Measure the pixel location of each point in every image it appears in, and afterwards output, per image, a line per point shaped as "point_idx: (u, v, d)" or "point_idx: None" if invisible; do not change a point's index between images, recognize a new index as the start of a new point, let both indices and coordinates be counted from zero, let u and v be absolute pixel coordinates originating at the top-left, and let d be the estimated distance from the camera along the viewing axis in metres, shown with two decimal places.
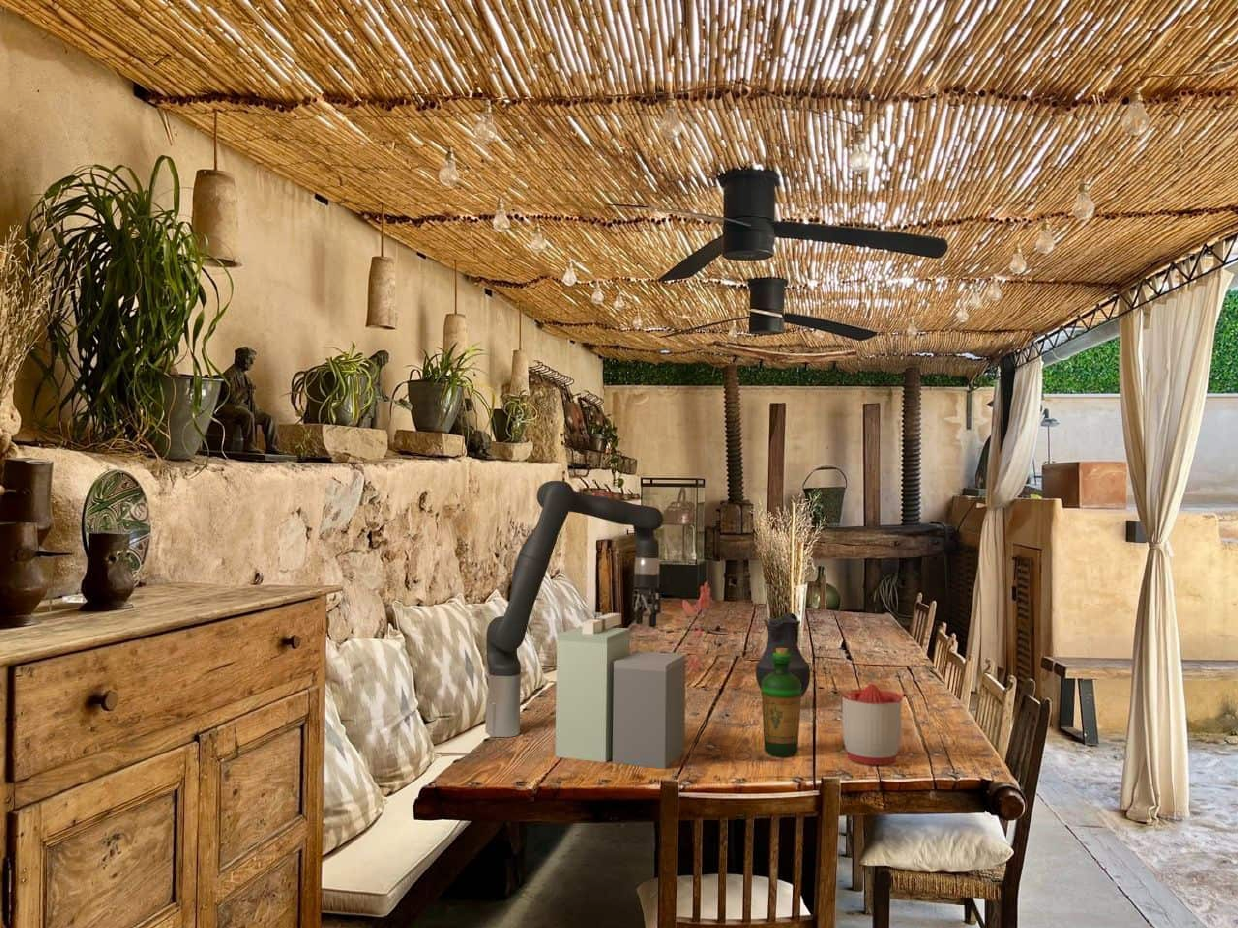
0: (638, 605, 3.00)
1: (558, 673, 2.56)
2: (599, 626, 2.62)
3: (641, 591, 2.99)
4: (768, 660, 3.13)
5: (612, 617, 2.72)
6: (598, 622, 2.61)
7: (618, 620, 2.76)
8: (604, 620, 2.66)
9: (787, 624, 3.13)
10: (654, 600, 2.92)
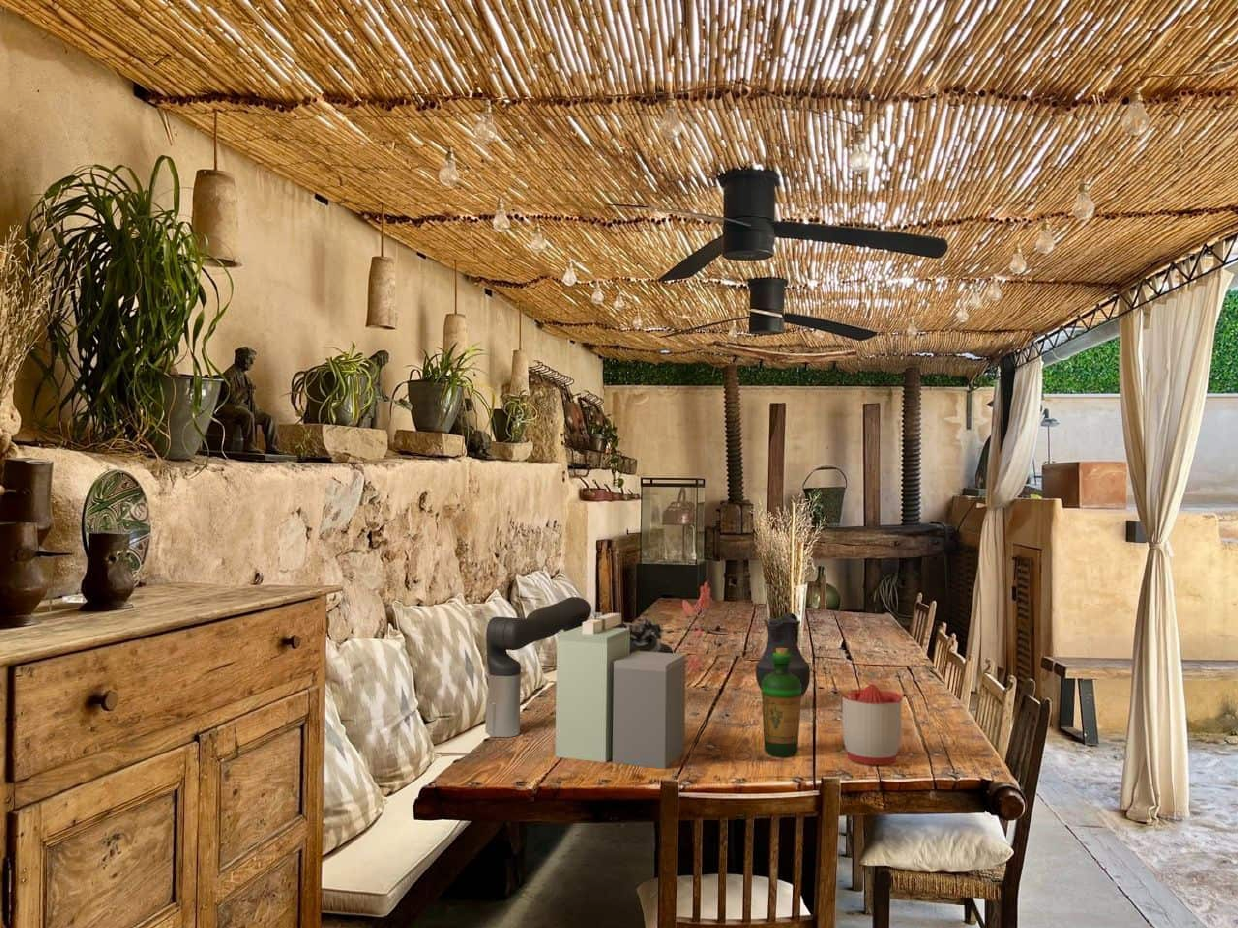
0: (628, 624, 2.97)
1: (558, 673, 2.56)
2: (599, 626, 2.62)
3: None
4: (768, 660, 3.13)
5: (612, 617, 2.72)
6: (598, 622, 2.61)
7: (618, 620, 2.76)
8: (604, 620, 2.66)
9: (787, 624, 3.13)
10: (661, 629, 2.96)
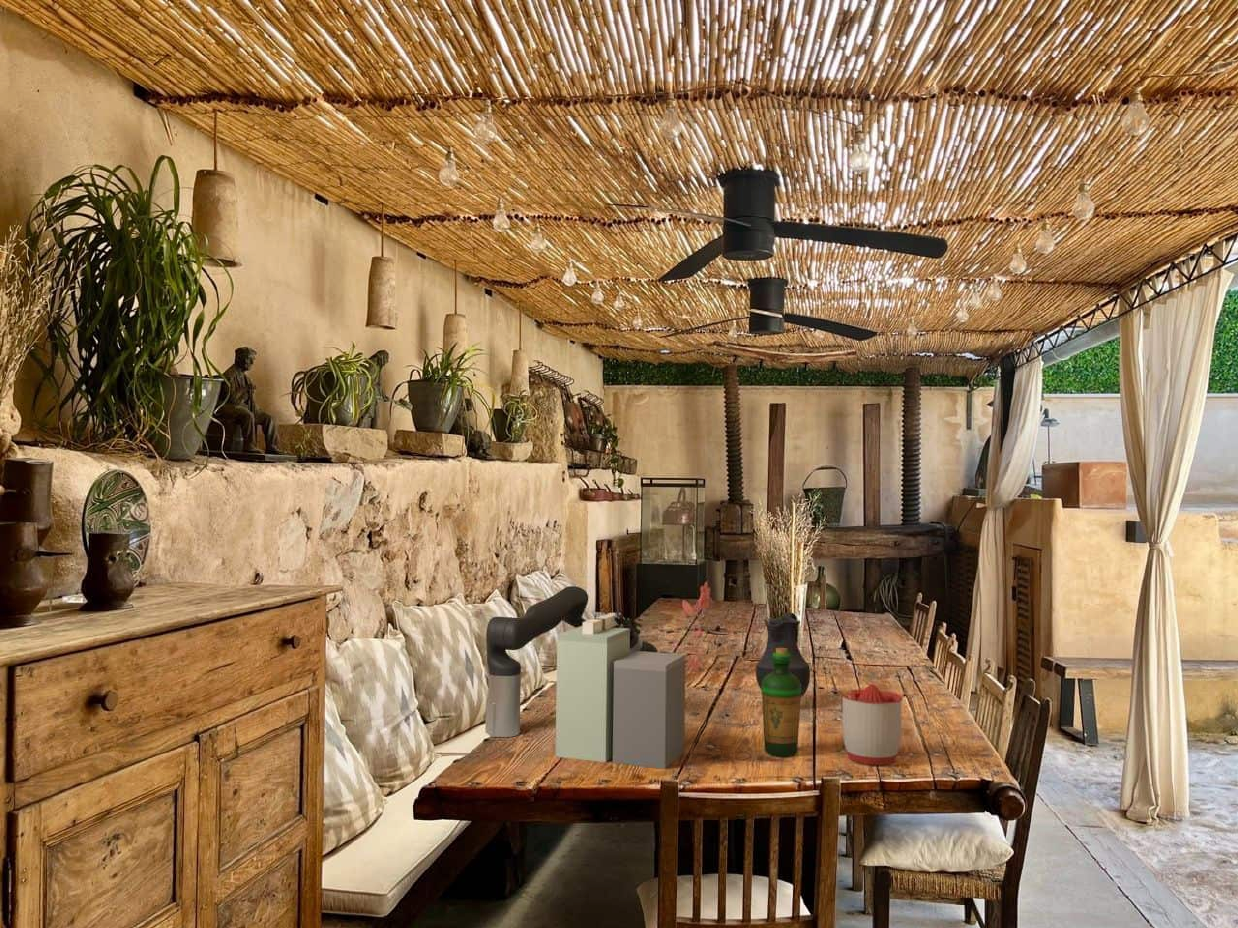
0: None
1: (558, 673, 2.56)
2: (599, 626, 2.62)
3: None
4: (768, 660, 3.13)
5: (612, 617, 2.72)
6: (598, 622, 2.61)
7: None
8: (604, 620, 2.66)
9: (787, 624, 3.13)
10: (637, 623, 2.79)
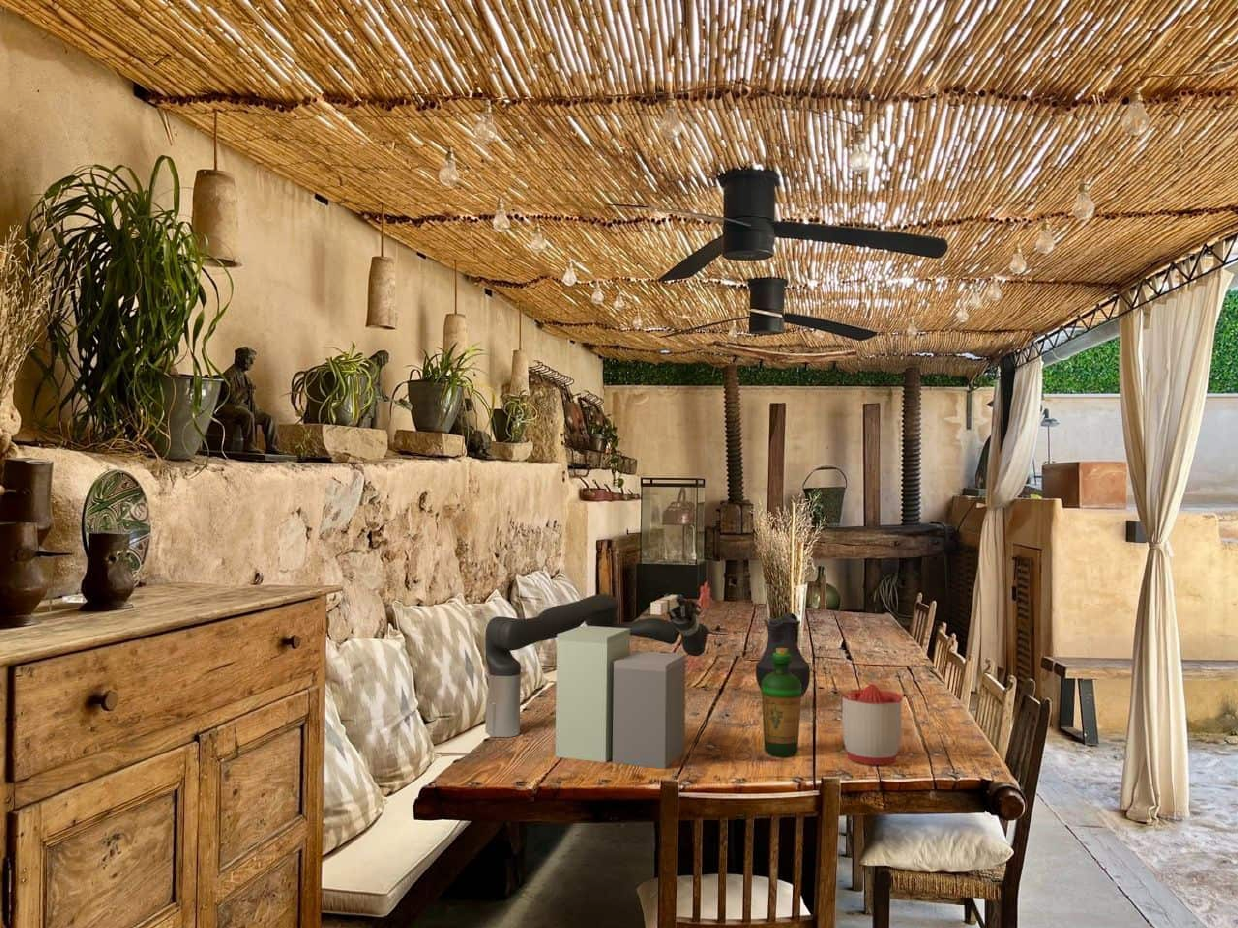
0: None
1: (558, 673, 2.56)
2: (665, 607, 2.73)
3: None
4: (768, 660, 3.13)
5: (675, 599, 2.83)
6: (664, 603, 2.73)
7: None
8: (669, 601, 2.77)
9: (787, 624, 3.13)
10: (697, 605, 2.90)
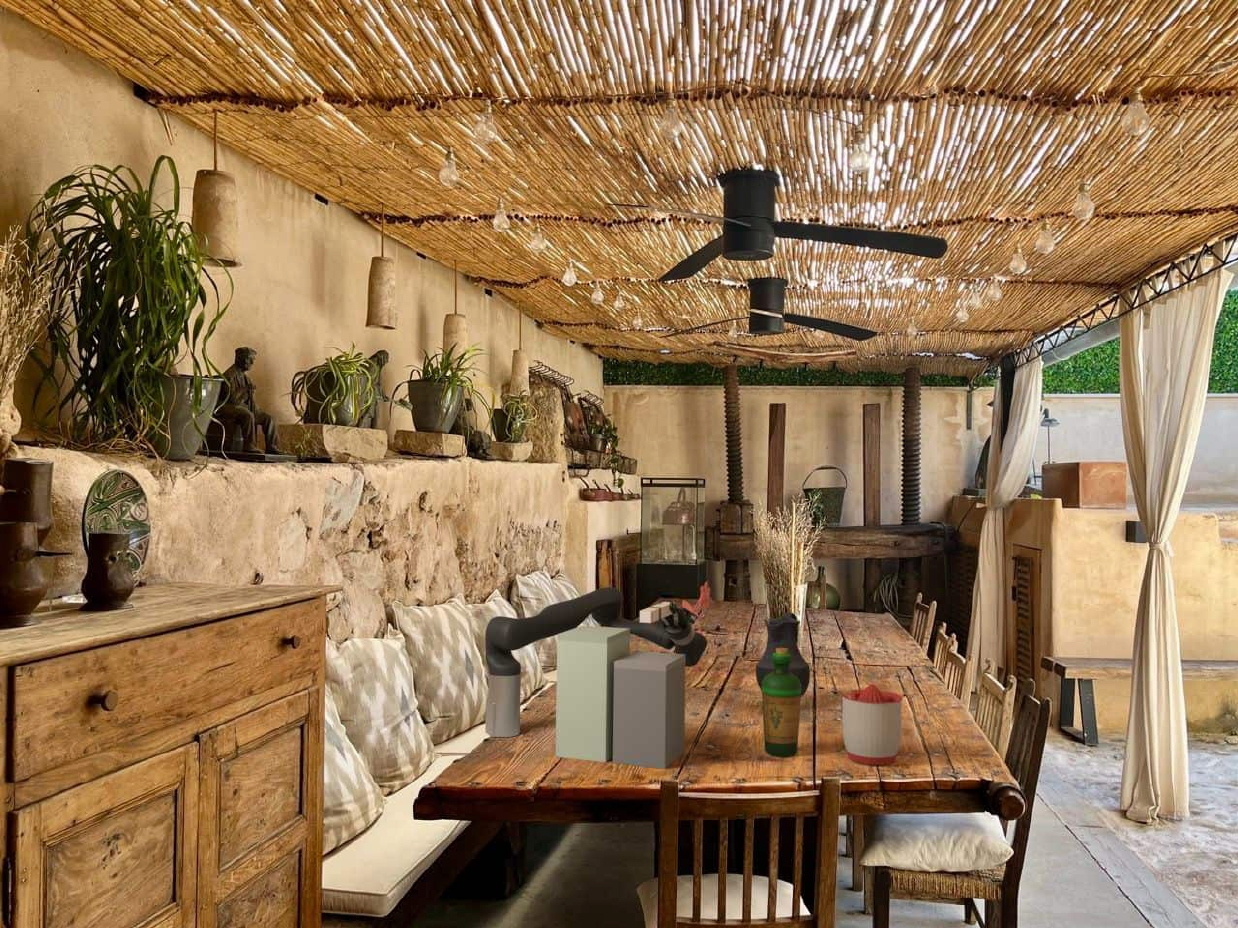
0: None
1: (558, 673, 2.56)
2: (656, 615, 2.56)
3: None
4: (768, 660, 3.13)
5: (667, 606, 2.66)
6: (655, 611, 2.56)
7: None
8: (660, 609, 2.60)
9: (787, 624, 3.13)
10: (691, 613, 2.73)
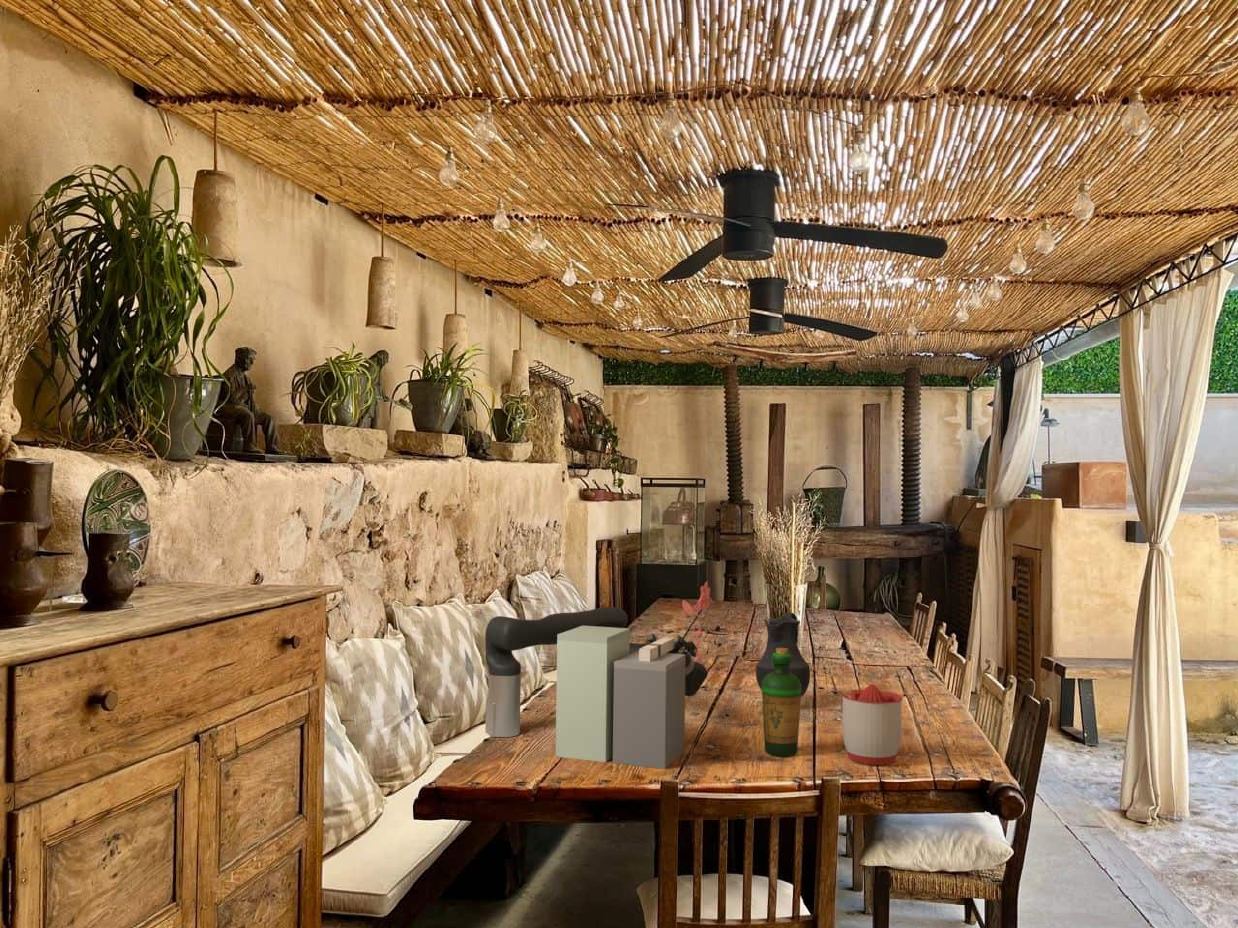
0: None
1: (558, 673, 2.56)
2: (655, 652, 2.56)
3: None
4: (768, 660, 3.13)
5: (667, 642, 2.66)
6: (654, 648, 2.56)
7: (672, 645, 2.70)
8: (660, 646, 2.60)
9: (787, 624, 3.13)
10: (695, 646, 2.74)
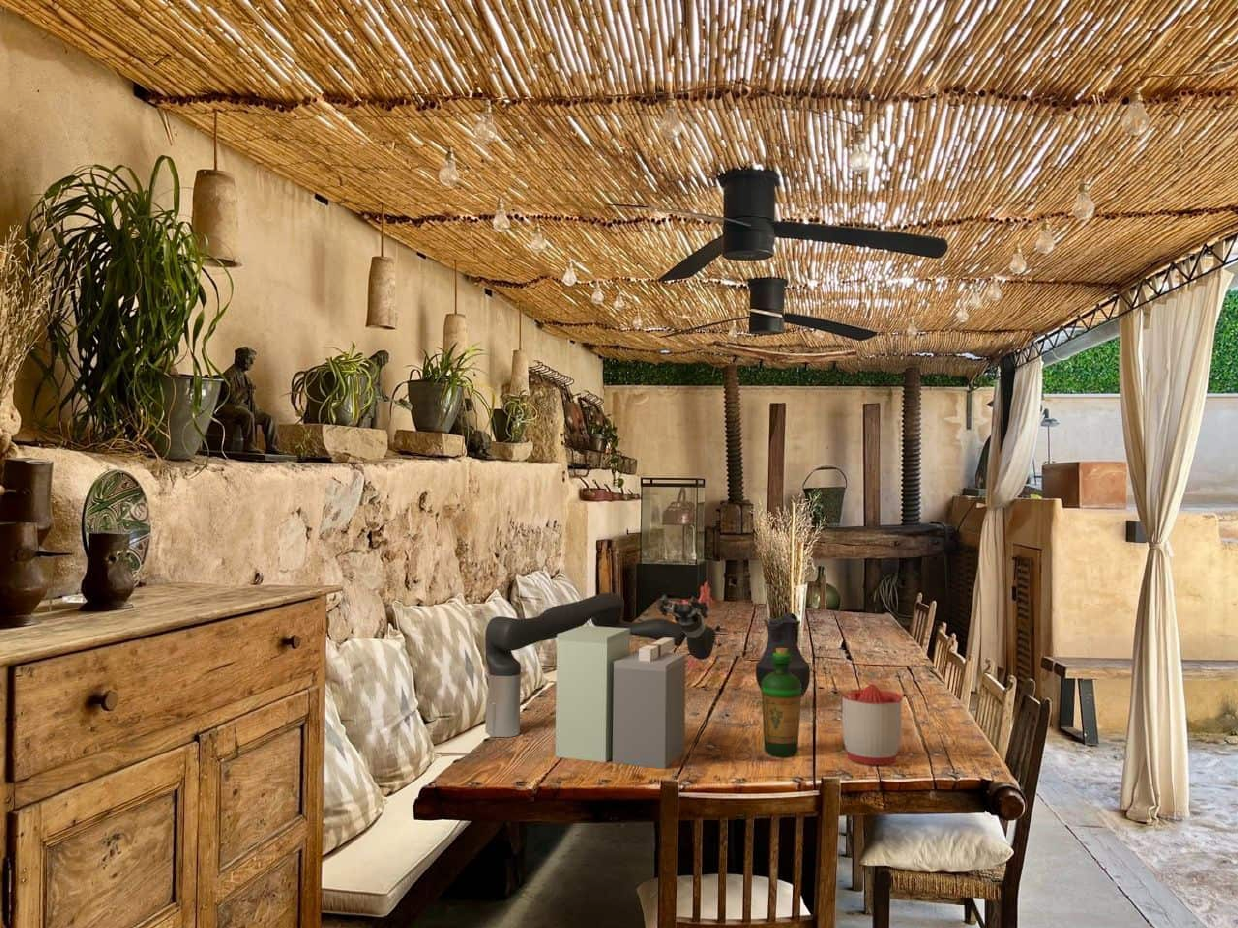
0: (673, 602, 2.87)
1: (558, 673, 2.56)
2: (655, 652, 2.56)
3: None
4: (768, 660, 3.13)
5: (667, 642, 2.66)
6: (654, 648, 2.56)
7: (672, 645, 2.70)
8: (660, 646, 2.60)
9: (787, 624, 3.13)
10: (707, 608, 2.85)
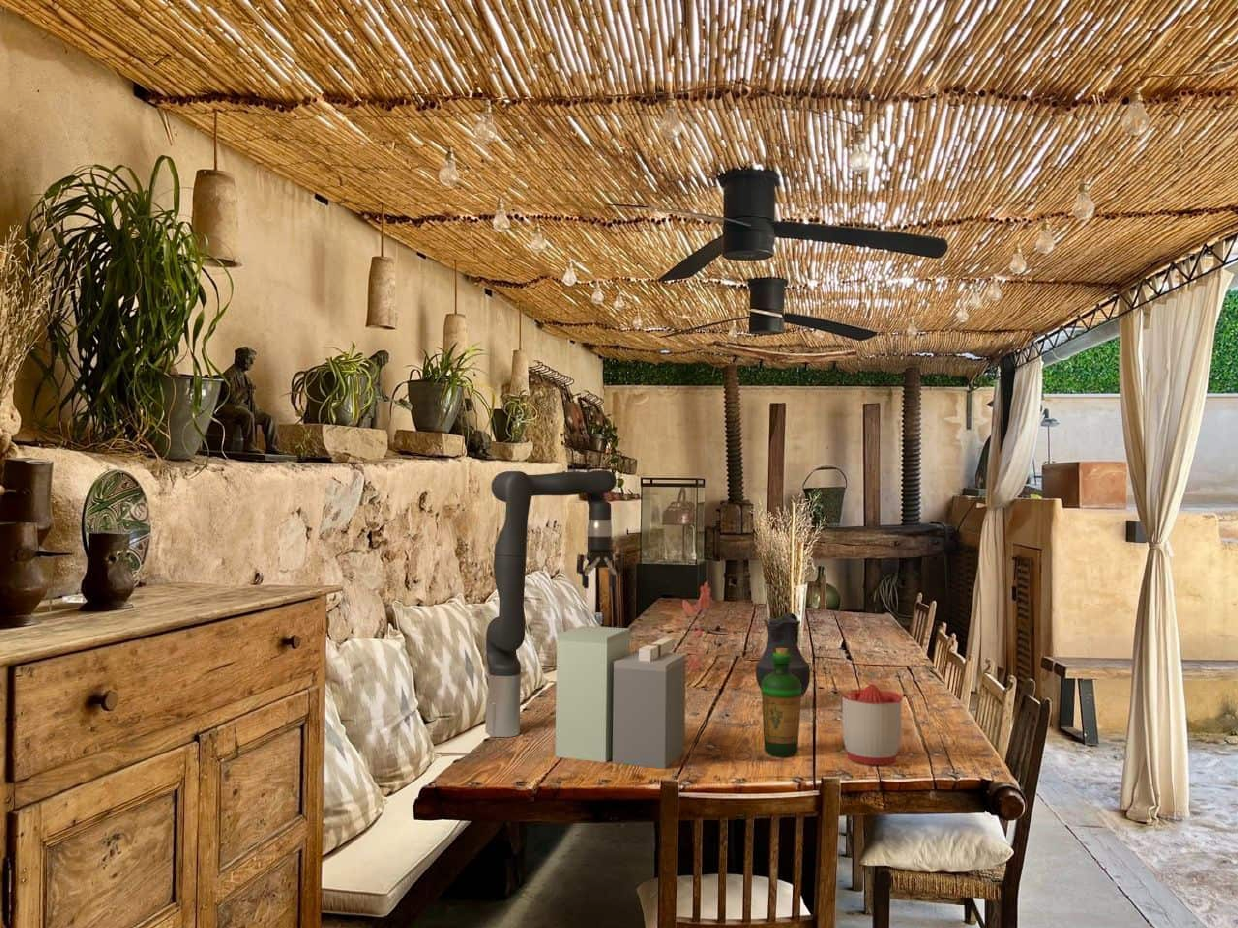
0: None
1: (558, 673, 2.56)
2: (655, 652, 2.56)
3: (597, 554, 2.97)
4: (768, 660, 3.13)
5: (667, 642, 2.66)
6: (654, 648, 2.56)
7: (672, 645, 2.70)
8: (660, 646, 2.60)
9: (787, 624, 3.13)
10: None
